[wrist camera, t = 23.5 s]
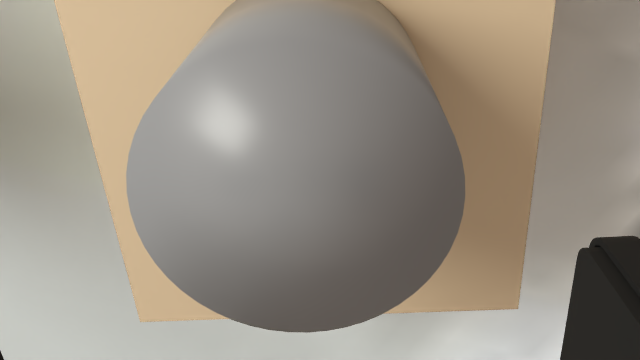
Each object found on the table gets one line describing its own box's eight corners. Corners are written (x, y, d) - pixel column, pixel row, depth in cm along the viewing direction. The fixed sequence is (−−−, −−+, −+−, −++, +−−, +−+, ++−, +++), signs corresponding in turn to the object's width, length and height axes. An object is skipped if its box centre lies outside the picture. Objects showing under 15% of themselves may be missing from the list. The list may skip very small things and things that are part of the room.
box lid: (511, 293, 21) (517, 308, 20) (146, 306, 21) (140, 321, 20) (576, -274, 13) (590, -283, 12) (9, -229, 14) (-9, -233, 13)
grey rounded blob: (421, 190, 18) (458, 326, 12) (212, 200, 18) (161, 337, 13) (424, -32, 15) (474, 23, 10) (174, -15, 15) (88, 48, 10)
